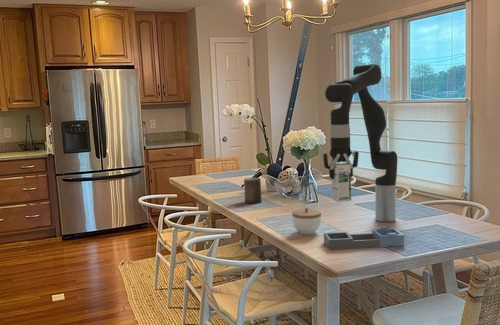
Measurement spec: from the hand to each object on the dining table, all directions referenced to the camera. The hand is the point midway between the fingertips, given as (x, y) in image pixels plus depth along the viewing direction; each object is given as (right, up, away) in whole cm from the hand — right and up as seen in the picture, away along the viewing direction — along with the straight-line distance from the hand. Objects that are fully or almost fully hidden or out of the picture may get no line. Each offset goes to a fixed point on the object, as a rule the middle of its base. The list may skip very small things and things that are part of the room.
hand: (341, 178), depth 186 cm
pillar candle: (-34, -17, +90) cm, 98 cm away
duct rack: (+10, -27, +4) cm, 28 cm away
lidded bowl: (-11, -25, +24) cm, 36 cm away
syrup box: (0, -9, +1) cm, 9 cm away
